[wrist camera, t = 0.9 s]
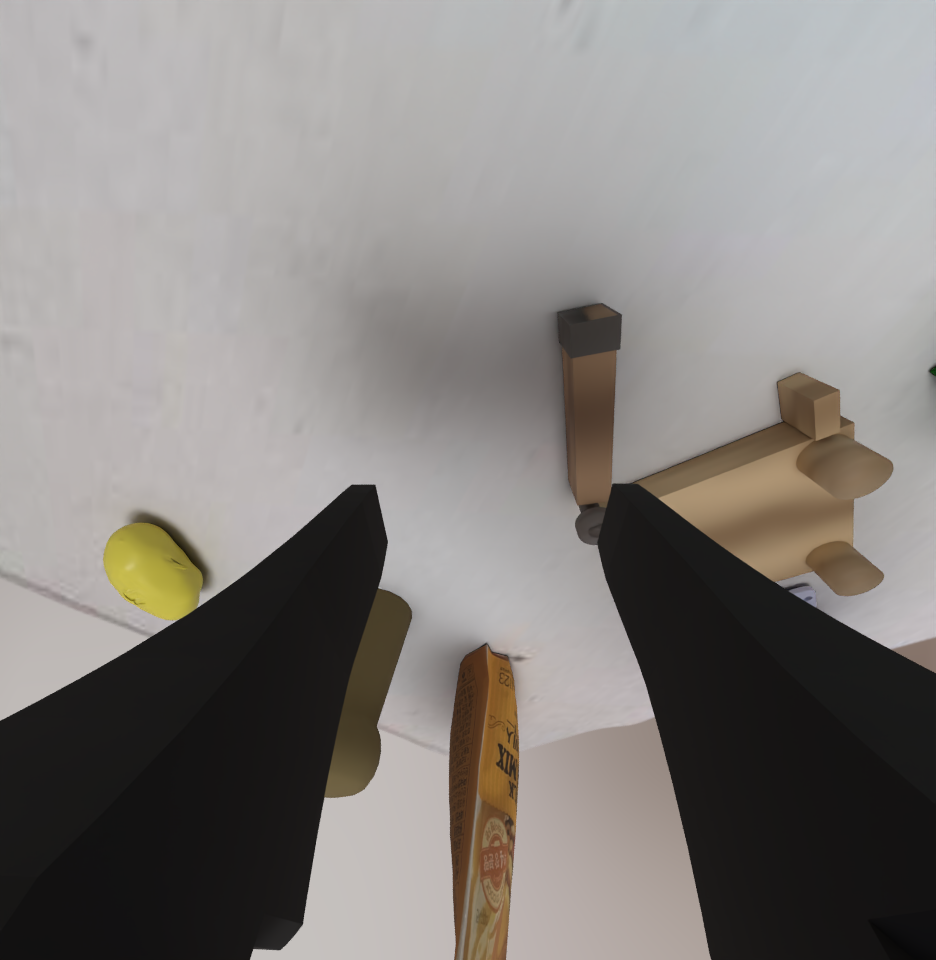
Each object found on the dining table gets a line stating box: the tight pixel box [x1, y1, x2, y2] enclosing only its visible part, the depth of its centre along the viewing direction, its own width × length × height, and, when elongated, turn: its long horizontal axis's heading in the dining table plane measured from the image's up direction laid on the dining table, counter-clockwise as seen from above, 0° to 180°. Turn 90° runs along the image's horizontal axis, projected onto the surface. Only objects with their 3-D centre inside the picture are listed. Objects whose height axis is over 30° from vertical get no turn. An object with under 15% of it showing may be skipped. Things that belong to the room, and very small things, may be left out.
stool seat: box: [575, 372, 893, 596], centre depth 19 cm, size 13×13×4 cm
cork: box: [324, 589, 412, 798], centre depth 23 cm, size 6×6×11 cm
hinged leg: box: [558, 303, 622, 506], centre depth 16 cm, size 9×2×2 cm, turn 11°
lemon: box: [103, 523, 203, 620], centre depth 23 cm, size 4×8×4 cm, turn 178°
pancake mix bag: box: [449, 645, 519, 960], centre depth 23 cm, size 7×19×28 cm, turn 5°
